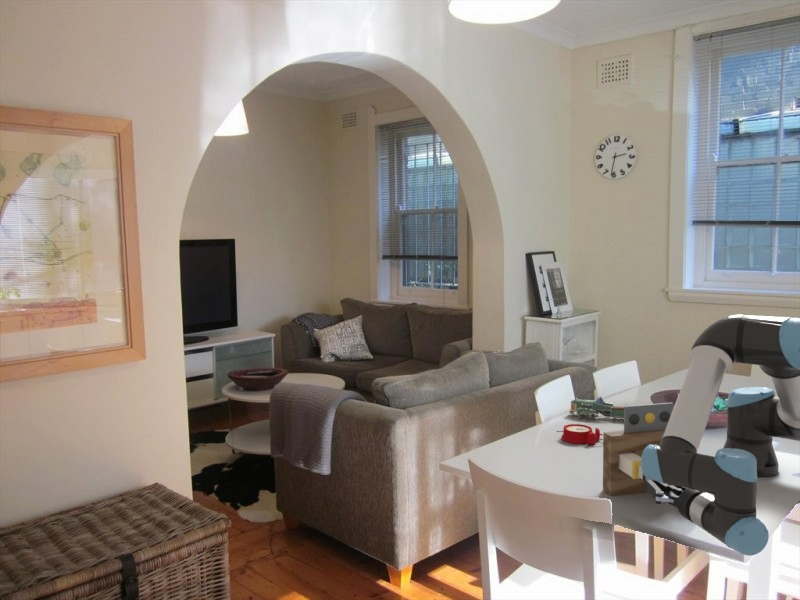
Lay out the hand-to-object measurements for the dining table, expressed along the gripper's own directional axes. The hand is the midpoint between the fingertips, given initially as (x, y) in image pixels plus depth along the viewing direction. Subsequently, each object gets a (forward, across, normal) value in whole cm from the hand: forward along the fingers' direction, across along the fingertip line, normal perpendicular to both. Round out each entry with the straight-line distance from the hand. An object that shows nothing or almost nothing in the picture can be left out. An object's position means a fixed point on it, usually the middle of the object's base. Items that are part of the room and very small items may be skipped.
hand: (641, 471), depth 166 cm
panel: (+9, +8, -9) cm, 15 cm away
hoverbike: (+73, +31, -9) cm, 80 cm away
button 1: (+5, 0, -2) cm, 5 cm away
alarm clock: (+52, +11, -9) cm, 54 cm away
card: (+9, +8, +7) cm, 14 cm away
